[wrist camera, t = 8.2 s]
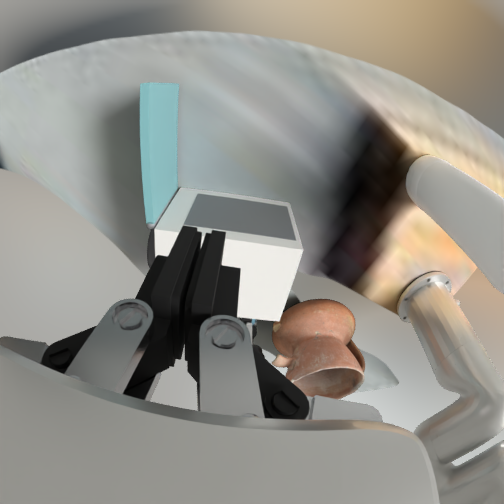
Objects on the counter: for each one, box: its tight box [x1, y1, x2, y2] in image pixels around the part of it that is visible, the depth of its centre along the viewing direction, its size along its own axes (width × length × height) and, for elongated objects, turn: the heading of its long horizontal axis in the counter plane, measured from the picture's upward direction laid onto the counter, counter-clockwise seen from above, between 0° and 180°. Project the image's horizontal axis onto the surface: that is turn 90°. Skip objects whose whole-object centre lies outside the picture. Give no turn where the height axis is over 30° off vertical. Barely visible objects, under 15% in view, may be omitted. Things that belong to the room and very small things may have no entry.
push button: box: [238, 317, 265, 358], centre depth 42 cm, size 7×5×10 cm
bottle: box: [406, 155, 504, 294], centre depth 20 cm, size 8×8×30 cm
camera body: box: [147, 187, 303, 321], centre depth 32 cm, size 16×10×12 cm, turn 81°
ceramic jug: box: [272, 299, 365, 399], centre depth 41 cm, size 18×14×14 cm
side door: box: [140, 83, 179, 229], centre depth 25 cm, size 14×1×10 cm, turn 175°
